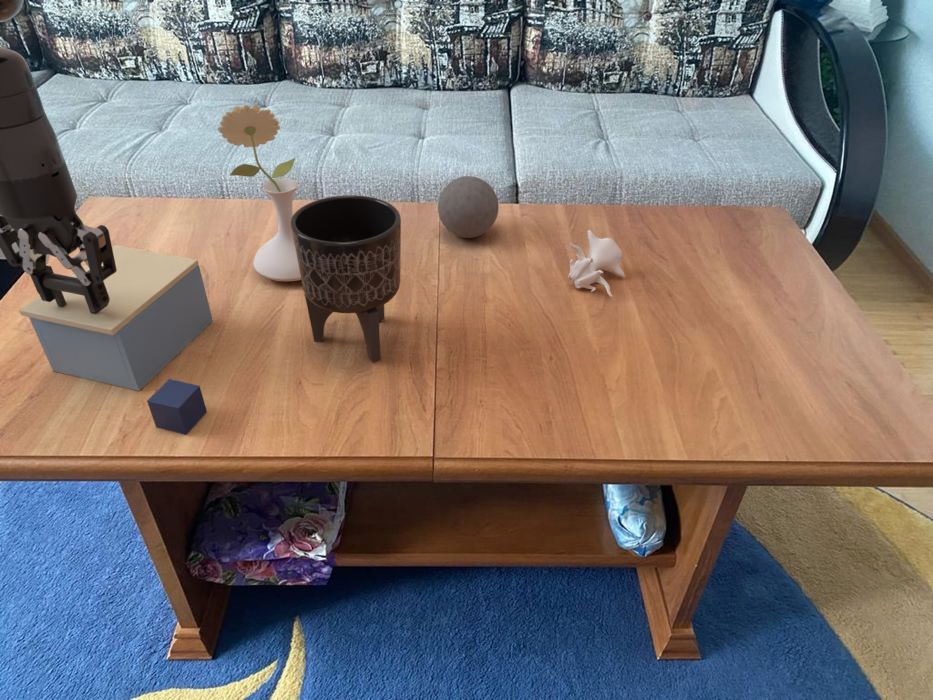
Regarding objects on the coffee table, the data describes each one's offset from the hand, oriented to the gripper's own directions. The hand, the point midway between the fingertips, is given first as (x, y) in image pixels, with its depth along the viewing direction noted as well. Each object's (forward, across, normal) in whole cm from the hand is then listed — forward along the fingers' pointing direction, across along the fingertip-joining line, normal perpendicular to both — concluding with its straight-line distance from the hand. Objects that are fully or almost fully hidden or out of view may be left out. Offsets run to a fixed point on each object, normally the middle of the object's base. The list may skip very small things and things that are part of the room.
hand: (76, 302), depth 78 cm
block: (+10, +14, -4) cm, 18 cm away
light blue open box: (+10, 0, +6) cm, 12 cm away
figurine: (+11, +55, +41) cm, 70 cm away
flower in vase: (+11, +9, +30) cm, 33 cm away
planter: (+11, +27, +16) cm, 33 cm away
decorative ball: (+11, +32, +50) cm, 60 cm away
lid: (+2, 0, +6) cm, 6 cm away
